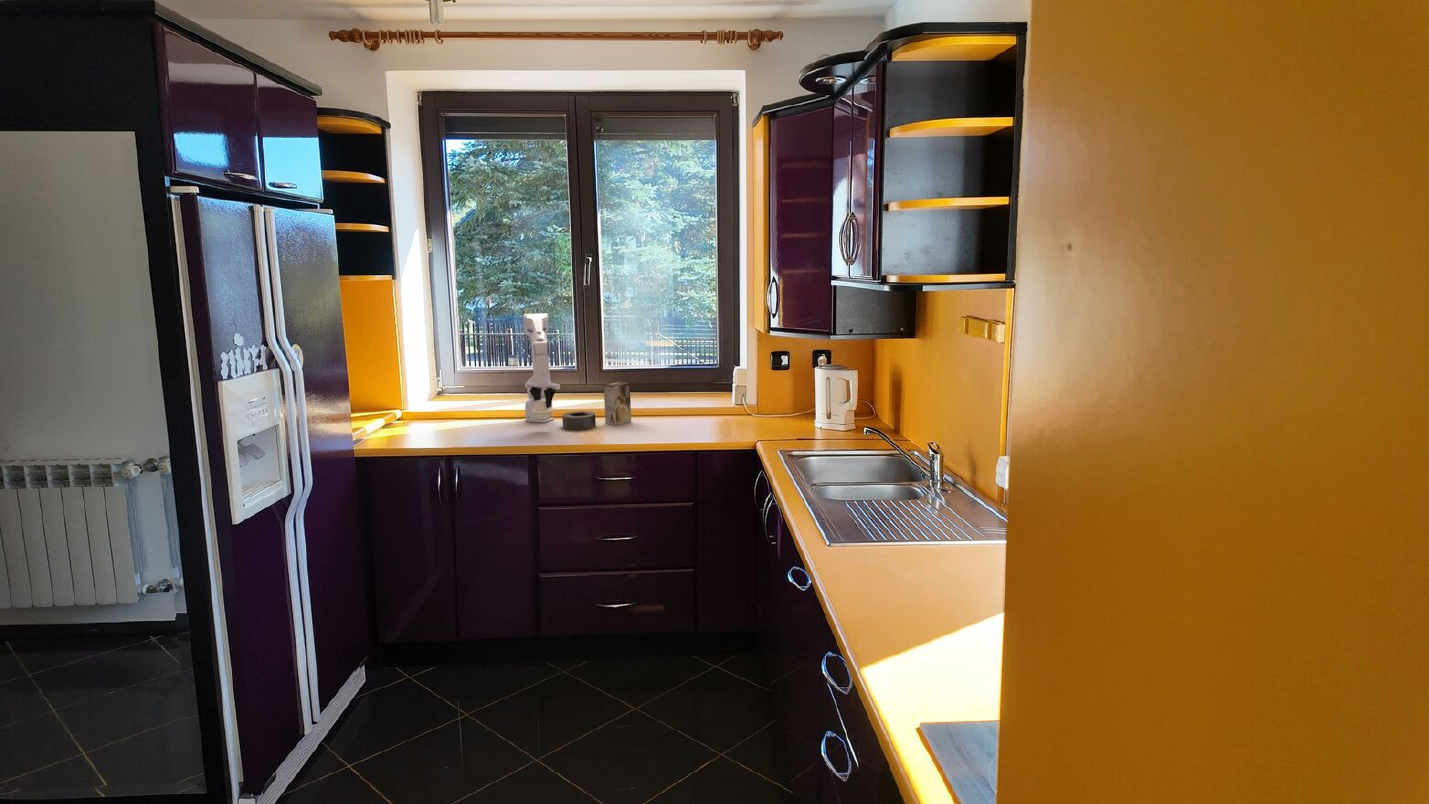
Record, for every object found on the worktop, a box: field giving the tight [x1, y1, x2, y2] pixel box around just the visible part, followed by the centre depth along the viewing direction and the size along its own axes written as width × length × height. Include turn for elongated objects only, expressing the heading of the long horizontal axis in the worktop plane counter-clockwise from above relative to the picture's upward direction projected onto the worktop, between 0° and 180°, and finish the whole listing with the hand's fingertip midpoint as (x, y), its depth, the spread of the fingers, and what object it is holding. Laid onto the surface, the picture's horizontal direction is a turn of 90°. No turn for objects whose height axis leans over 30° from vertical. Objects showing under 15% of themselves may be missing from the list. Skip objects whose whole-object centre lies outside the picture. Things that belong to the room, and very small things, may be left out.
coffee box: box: [603, 381, 632, 426], centre depth 338 cm, size 9×6×16 cm
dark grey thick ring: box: [561, 410, 597, 431], centre depth 332 cm, size 13×13×5 cm
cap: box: [533, 399, 555, 419], centre depth 324 cm, size 8×8×7 cm
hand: (543, 406), depth 324 cm, fingers closed on cap, 4 cm apart
